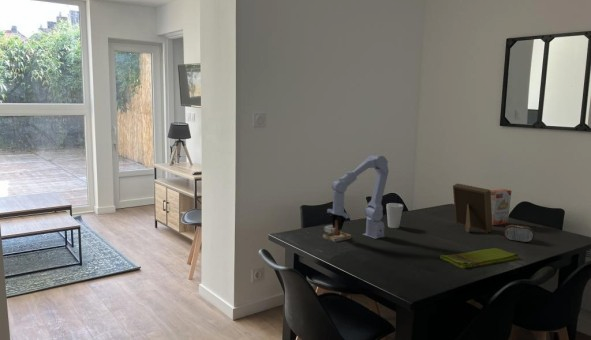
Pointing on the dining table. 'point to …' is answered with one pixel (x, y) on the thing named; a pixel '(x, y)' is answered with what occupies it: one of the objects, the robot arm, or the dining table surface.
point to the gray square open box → (329, 229)
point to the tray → (337, 238)
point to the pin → (336, 229)
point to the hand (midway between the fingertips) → (337, 228)
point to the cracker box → (500, 206)
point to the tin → (519, 233)
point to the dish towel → (479, 257)
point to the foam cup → (394, 214)
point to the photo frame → (472, 207)
